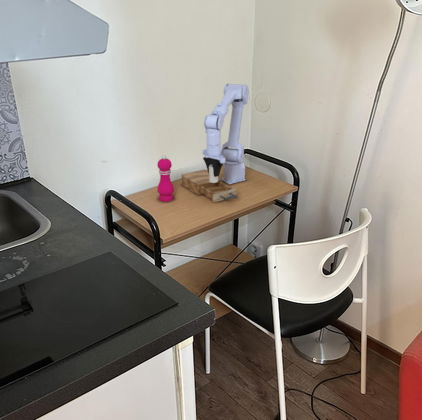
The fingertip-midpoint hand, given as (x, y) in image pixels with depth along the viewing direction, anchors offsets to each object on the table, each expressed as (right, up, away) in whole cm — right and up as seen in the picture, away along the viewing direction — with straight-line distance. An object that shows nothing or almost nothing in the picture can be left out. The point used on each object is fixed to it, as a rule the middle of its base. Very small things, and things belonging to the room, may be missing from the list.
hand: (213, 174), depth 190 cm
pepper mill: (-20, -10, +5) cm, 23 cm away
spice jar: (0, -3, +1) cm, 3 cm away
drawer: (+3, -9, +3) cm, 10 cm away
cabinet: (-4, -5, +15) cm, 16 cm away
